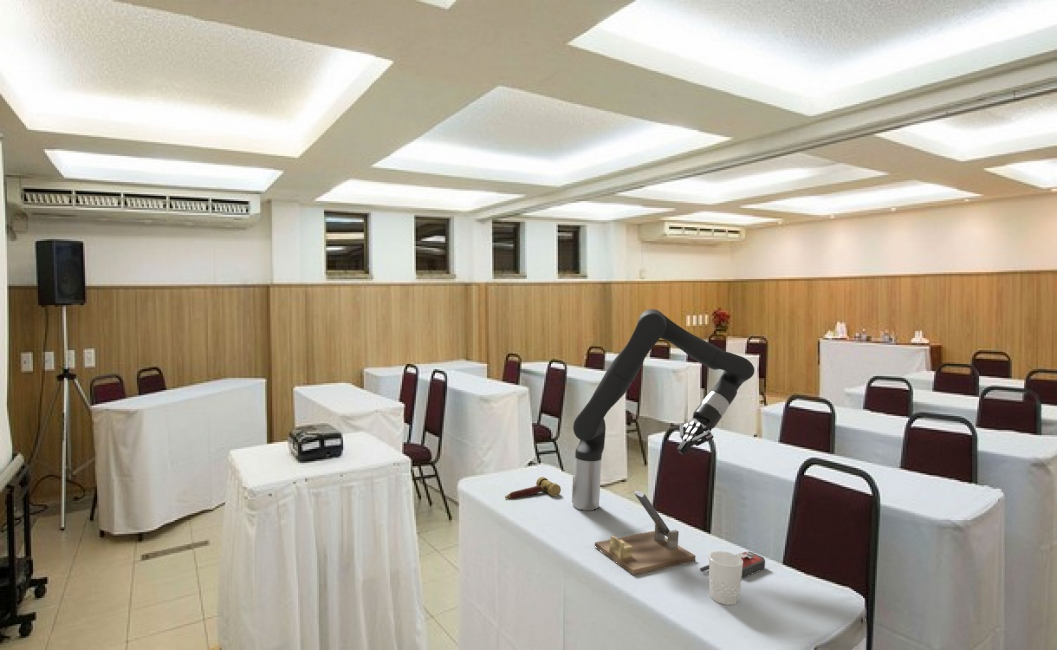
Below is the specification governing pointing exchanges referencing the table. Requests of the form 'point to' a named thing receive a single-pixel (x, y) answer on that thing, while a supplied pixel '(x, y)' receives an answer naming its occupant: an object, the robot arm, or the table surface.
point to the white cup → (725, 577)
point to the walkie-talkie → (747, 563)
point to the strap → (652, 512)
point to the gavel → (537, 489)
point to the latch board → (646, 551)
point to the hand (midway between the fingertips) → (680, 452)
